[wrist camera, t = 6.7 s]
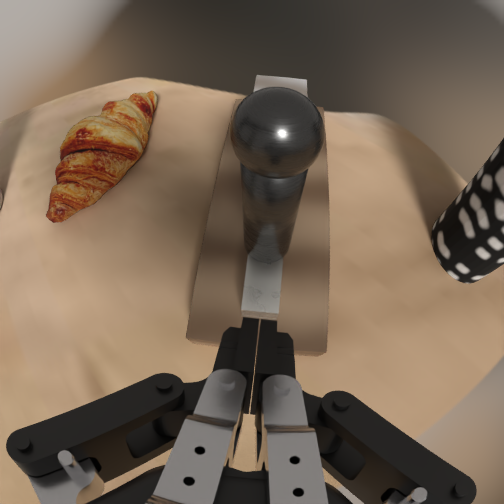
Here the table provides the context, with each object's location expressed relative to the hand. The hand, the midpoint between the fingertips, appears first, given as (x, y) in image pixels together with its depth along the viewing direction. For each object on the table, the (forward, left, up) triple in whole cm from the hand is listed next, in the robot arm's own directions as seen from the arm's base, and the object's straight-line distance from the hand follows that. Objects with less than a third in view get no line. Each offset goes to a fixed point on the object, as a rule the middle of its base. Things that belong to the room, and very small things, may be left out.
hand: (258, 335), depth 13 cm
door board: (-10, +9, -11) cm, 17 cm away
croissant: (-27, 0, -11) cm, 29 cm away
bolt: (-6, +6, -8) cm, 11 cm away
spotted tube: (+6, +23, -11) cm, 27 cm away
